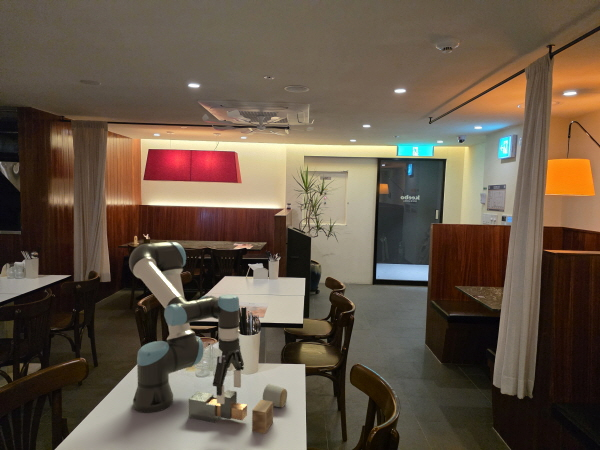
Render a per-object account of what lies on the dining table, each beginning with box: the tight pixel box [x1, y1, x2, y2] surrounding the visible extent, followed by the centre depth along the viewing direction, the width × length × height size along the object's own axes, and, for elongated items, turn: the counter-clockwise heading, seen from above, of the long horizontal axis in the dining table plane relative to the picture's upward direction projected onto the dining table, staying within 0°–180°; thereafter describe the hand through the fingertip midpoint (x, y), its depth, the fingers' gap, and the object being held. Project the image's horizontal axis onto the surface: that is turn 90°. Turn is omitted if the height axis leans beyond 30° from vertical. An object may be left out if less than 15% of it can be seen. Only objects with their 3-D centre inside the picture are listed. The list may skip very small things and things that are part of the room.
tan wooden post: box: [206, 389, 248, 421], centre depth 155 cm, size 20×5×8 cm, turn 73°
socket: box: [251, 399, 274, 434], centre depth 150 cm, size 5×8×8 cm, turn 163°
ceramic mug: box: [262, 383, 288, 408], centre depth 167 cm, size 11×8×8 cm
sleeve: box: [188, 391, 220, 423], centre depth 156 cm, size 11×6×7 cm, turn 73°
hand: (229, 394), depth 153 cm, fingers open, 13 cm apart
